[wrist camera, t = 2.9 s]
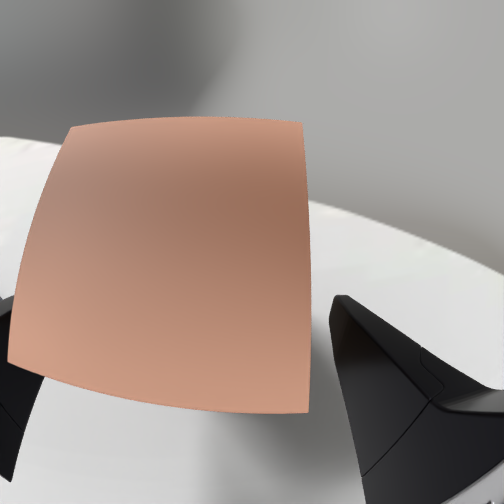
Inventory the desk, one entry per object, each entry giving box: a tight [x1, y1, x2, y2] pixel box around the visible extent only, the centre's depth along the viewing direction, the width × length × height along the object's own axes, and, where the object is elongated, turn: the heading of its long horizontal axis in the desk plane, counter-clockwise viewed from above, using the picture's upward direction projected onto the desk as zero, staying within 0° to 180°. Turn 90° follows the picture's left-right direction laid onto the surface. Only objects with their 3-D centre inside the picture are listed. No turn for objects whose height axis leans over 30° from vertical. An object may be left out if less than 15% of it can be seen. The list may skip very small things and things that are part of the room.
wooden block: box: [8, 117, 311, 414], centre depth 10 cm, size 5×5×13 cm
